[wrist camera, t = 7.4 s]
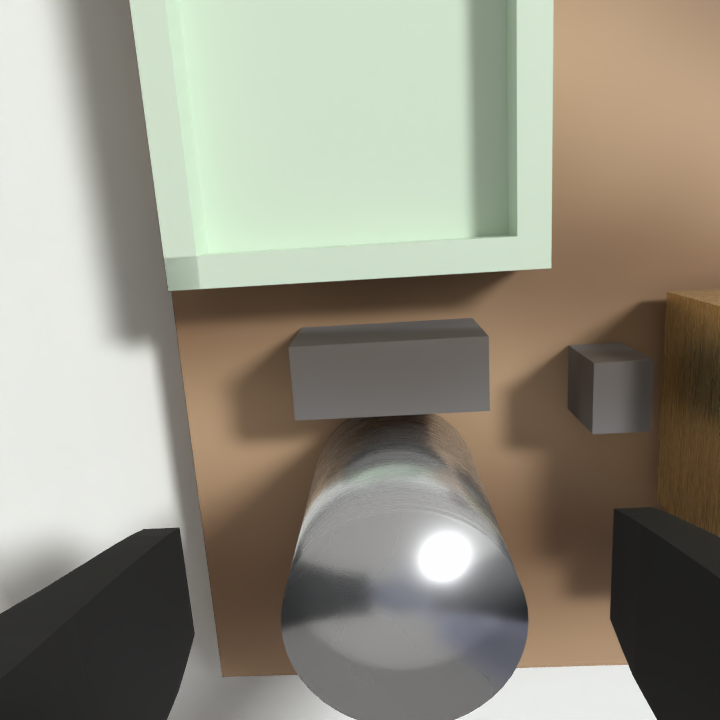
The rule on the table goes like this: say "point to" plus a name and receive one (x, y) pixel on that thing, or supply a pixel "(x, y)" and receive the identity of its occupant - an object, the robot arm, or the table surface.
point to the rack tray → (347, 137)
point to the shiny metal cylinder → (402, 576)
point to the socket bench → (485, 348)
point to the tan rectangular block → (691, 409)
